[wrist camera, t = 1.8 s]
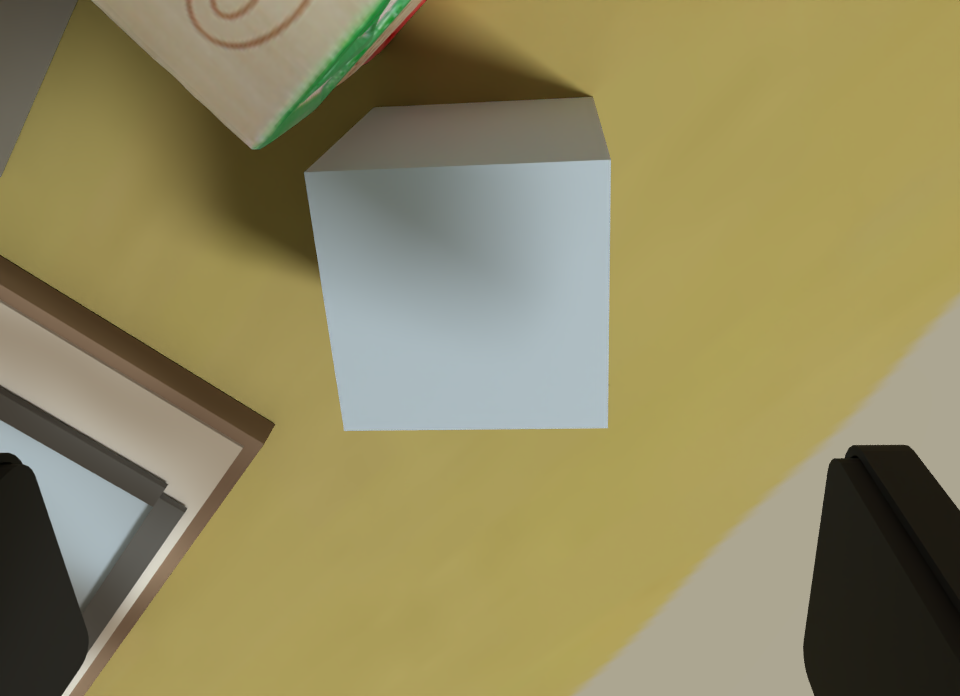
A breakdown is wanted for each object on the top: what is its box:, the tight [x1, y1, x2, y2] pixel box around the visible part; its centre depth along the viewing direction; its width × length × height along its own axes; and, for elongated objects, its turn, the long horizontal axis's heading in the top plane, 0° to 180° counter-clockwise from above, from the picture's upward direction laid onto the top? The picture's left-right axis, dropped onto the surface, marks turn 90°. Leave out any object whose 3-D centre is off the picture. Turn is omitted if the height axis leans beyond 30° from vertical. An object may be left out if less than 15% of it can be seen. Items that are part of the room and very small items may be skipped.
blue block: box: [304, 97, 611, 431], centre depth 17 cm, size 5×5×6 cm
